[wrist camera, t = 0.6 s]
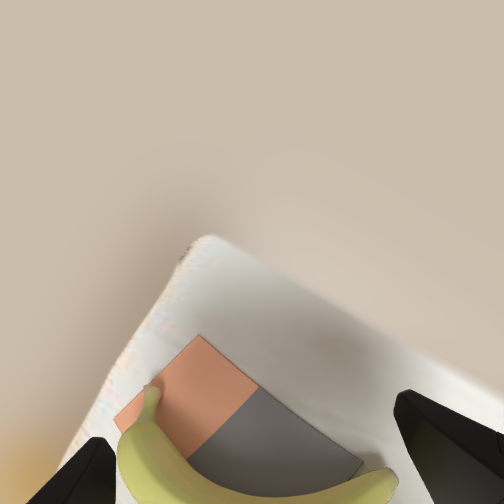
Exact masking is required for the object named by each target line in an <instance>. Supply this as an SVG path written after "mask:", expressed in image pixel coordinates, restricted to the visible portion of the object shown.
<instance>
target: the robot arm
mask: <svg viewBox="0 0 504 504" xmlns="http://www.w3.org/2000/svg"><path fill="white" fill-rule="evenodd" d="M393 413H394V417H395V420H396V422H397V425H398V427H399V430H400V433H401V435H402V438H403V440H404V443H405V446H406V448H407V451H408V453H409V455H410V457H411V459H412V461H413V463H414V465H415V467H416V469H417V471H418V473H419V474H420V476H421V478H422V480H423V482H424V484H425V486H426V488H427V490H428V492H429V494H430V496H431V498H432V500H433V502H434V504H504V434H502V433H499V432H496V431H495V430H493V429H491V428H488V427H486V426H484V425H482V424H480V423H478V422H476V421H474V420H471V419H469V418H467V417H465V416H463V415H461V414H459V413H457V412H455V411H453V410H451V409H449V408H447V407H445V406H443V405H441V404H439V403H437V402H435V401H433V400H431V399H429V398H427V397H425V396H423V395H421V394H419V393H417V392H415V391H413V390H410V389H408V390H405V391H402V392H400V393H398V395H397V398H396V402H395V406H394V410H393ZM115 501H116V455H115V452H114V451H113V449H112V448H111V446H110V445H109V444H108V442H107V441H106V439H105V438H103V437H92V438H90V439H89V440H88V441H87V442H86V443H85V444H84V445H83V446H82V447H81V448H80V449H79V450H78V451H77V453H76V454H75V455H74V456H73V457H72V458H71V459H70V460H69V461H68V462H67V463H66V464H65V465H64V466H63V467H62V468H61V469H60V470H59V471H58V472H57V473H56V474H55V475H54V476H53V477H52V478H51V479H50V480H49V481H48V482H47V483H46V484H45V485H44V486H43V487H42V488H41V489H40V490H39V491H38V492H37V493H36V494H35V495H34V496H33V497H32V498H31V499H30V500H29V502H27V503H26V504H115Z"/></svg>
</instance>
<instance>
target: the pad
mask: <svg viewBox="0 0 504 504" xmlns="http://www.w3.org/2000/svg"><path fill="white" fill-rule="evenodd" d="M149 385H153V386H156V387H158V388H159V389H160V390H161V391H162V392H163V395H162V397H161V399H160V401H159V403H158V406H157V409H156V423H157V425H158V426H159V427H160V428H161V429H162V431H163V432H164V433H165V434H166V436H167V437H168V438H169V440H170V441H171V442H172V443H173V445H174V446H175V447H176V448H177V450H178V451H179V452H180V453H181V455H182V456H183V457H184V458H185V459H187V458H188V457H189V456H190V455H191V454H193V453H194V452H195V451H196V450H197V449H198V448H199V447H200V446H201V445H202V444H203V443H204V442H205V441H206V440H207V439H208V438H209V437H211V436H212V435H213V434H214V433H215V432H216V431H217V430H218V429H219V428H220V427H221V426H222V425H223V424H224V423H225V422H226V421H227V420H228V419H229V418H230V417H231V416H232V415H233V414H234V413H235V412H236V411H237V410H238V409H239V408H240V407H241V405H242V404H243V403H244V402H245V401H246V400H247V399H248V398H249V397H250V396H251V395H252V394H253V393H254V392H255V391H256V390H257V389H258V388H259V386H258V385H257V384H255V383H254V382H253V381H252V380H251V379H249V378H248V377H247V376H246V375H244V374H243V373H242V372H241V371H240V370H238V369H237V368H236V367H235V366H234V365H233V364H231V363H230V362H229V361H228V360H227V359H226V358H224V357H223V356H222V355H221V354H220V353H219V352H218V351H216V350H215V349H214V348H213V347H212V346H211V345H210V344H209V343H207V342H206V341H205V340H204V339H203V338H202V337H201V336H200V335H198V336H197V337H196V338H195V339H194V340H193V341H192V342H191V343H190V344H189V345H188V346H187V347H186V348H185V349H184V350H183V351H182V352H181V353H180V354H179V355H178V356H177V357H176V358H175V359H174V360H173V361H172V362H171V363H170V364H169V365H168V366H167V367H166V368H165V369H164V370H163V371H162V372H161V373H160V374H159V375H158V376H157V377H156V378H155V379H154V380H153V381H152V382H151V383H150V384H149ZM143 406H144V390H143V391H142V392H141V393H140V394H139V395H138V396H136V397H135V398H134V399H133V400H132V401H131V402H130V403H129V404H128V405H127V406H126V407H125V408H124V409H123V410H122V411H121V412H120V413H119V414H118V415H117V416H116V417H115V418H114V419H113V420H114V422H115V424H116V425H117V427H118V429H119V430H120V432H121V433H122V434H123V433H124V432H125V431H126V430H127V429H128V428H129V427H130V426H131V425H132V424H133V423H134V422H135V421H136V420H137V418H138V417H139V415H140V413H141V411H142V409H143Z"/></svg>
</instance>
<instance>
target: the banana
mask: <svg viewBox="0 0 504 504" xmlns="http://www.w3.org/2000/svg"><path fill="white" fill-rule="evenodd" d="M162 395H163V392H162V391H161V390H160V389H159V388H158V387H156V386H153V385H145V386H144V406H143V409H142V411H141V413H140V415H139V417H138V418H137V420H136V421H135V422H134V423H133V424H132V425H131V426H130V427H129V428H128V429H127V430H126V431H125V432H124V433H123V434H122V436H121V438H120V440H119V442H118V447H117V464H118V468H119V472H120V474H121V477H122V479H123V481H124V483H125V485H126V487H127V488H128V490H129V492H130V493H131V495H132V496H133V498H134V499H135V501H136V502H137V503H138V504H387V502H388V501H389V500H390V498H391V496H392V495H393V493H394V491H395V489H396V487H397V485H398V483H399V479H398V477H397V475H396V474H395V472H394V471H393V470H392V469H390V468H388V467H387V468H383V469H380V470H376V471H372V472H368V473H366V474H363V475H361V476H358V477H356V478H354V479H351V480H349V481H347V482H344V483H342V484H340V485H337V486H334V487H331V488H329V489H326V490H323V491H319V492H316V493H311V494H306V495H299V496H291V497H279V498H272V497H257V496H251V495H246V494H243V493H239V492H236V491H233V490H230V489H227V488H224V487H222V486H219V485H217V484H215V483H213V482H211V481H210V480H208V479H206V478H205V477H204V476H202V475H201V474H199V473H198V472H197V471H195V470H194V469H193V468H192V467H191V465H190V464H189V463H188V462H187V461H186V459H185V458H184V457H183V456H182V455H181V453H180V452H179V451H178V450H177V448H176V447H175V446H174V445H173V443H172V442H171V441H170V440H169V438H168V437H167V436H166V434H165V433H164V432H163V431H162V429H161V428H160V427H159V426H158V425H157V423H156V409H157V406H158V403H159V401H160V399H161V397H162Z"/></svg>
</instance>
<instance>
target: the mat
mask: <svg viewBox="0 0 504 504" xmlns="http://www.w3.org/2000/svg"><path fill="white" fill-rule="evenodd" d="M186 461H187V462H188V463H189V464H190V465H191V467H192V468H193V469H194V470H195V471H197V472H198V473H199V474H201V475H202V476H204V477H205V478H206V479H208V480H210V481H211V482H213V483H215V484H217V485H219V486H222V487H224V488H227V489H230V490H233V491H236V492H239V493H243V494H246V495H251V496H257V497H272V498H279V497H291V496H299V495H306V494H311V493H316V492H319V491H323V490H326V489H329V488H331V487H334V486H337V485H340V484H342V483H344V482H347V480H348V479H349V478H350V477H351V476H352V475H353V474H354V473H355V471H356V470H357V469H358V468H359V467H360V466H361V464H362V463H363V461H361V460H360V459H358V458H357V457H355V456H354V455H352V454H350V453H349V452H347V451H346V450H344V449H343V448H341V447H340V446H339V445H337V444H336V443H334V442H333V441H331V440H330V439H328V438H327V437H325V436H324V435H323V434H321V433H320V432H318V431H317V430H316V429H314V428H313V427H311V426H310V425H309V424H307V423H306V422H305V421H303V420H302V419H301V418H299V417H298V416H296V415H295V414H294V413H292V412H291V411H290V410H289V409H287V408H286V407H285V406H283V405H282V404H281V403H279V402H278V401H277V400H276V399H274V398H273V397H272V396H270V395H269V394H268V393H267V392H265V391H264V390H263V389H262V388H260V387H259V388H258V389H257V390H256V391H255V392H254V393H253V394H252V395H251V396H250V397H249V398H248V399H247V400H246V401H245V402H244V403H243V404H242V405H241V407H240V408H239V409H238V410H237V411H236V412H235V413H234V414H233V415H232V416H231V417H230V418H229V419H228V420H227V421H226V422H225V423H224V424H223V425H222V426H221V427H220V428H219V429H218V430H217V431H216V432H215V433H214V434H213V435H212V436H211V437H209V438H208V439H207V440H206V441H205V442H204V443H203V444H202V445H201V446H200V447H199V448H198V449H197V450H196V451H195V452H194V453H193V454H191V455H190V456H189V457H188V458H187V459H186Z"/></svg>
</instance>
